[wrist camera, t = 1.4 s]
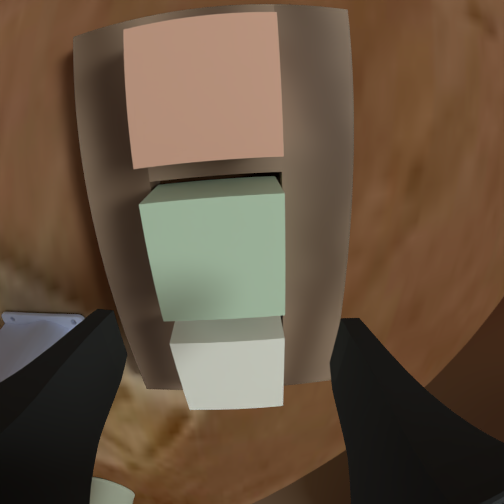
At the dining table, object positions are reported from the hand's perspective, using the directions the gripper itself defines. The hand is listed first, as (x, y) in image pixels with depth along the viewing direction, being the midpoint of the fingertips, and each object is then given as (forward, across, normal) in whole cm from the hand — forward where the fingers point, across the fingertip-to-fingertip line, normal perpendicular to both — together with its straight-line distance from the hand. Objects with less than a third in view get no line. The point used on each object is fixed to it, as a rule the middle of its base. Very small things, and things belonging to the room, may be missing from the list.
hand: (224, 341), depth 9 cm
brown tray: (+10, +1, 0) cm, 10 cm away
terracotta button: (+9, +1, -7) cm, 11 cm away
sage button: (+8, +1, 0) cm, 8 cm away
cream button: (+8, 0, +8) cm, 11 cm away
